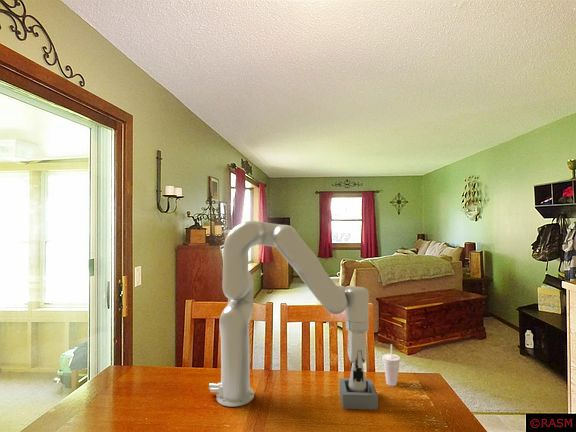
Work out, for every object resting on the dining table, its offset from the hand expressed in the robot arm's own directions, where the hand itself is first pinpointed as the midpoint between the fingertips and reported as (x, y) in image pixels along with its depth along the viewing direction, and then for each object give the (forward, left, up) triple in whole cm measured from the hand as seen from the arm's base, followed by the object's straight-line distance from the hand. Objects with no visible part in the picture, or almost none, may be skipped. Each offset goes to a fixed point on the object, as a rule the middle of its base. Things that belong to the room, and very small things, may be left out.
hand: (357, 379), depth 115 cm
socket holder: (0, 0, -7) cm, 7 cm away
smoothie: (+14, +12, -7) cm, 20 cm away
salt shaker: (0, 0, -4) cm, 4 cm away
